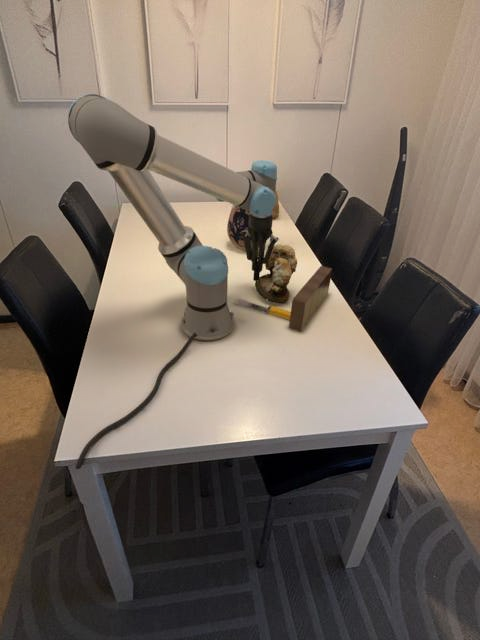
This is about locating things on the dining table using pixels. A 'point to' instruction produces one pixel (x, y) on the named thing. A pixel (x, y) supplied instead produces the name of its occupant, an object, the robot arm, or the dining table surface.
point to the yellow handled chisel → (266, 309)
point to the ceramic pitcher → (238, 226)
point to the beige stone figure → (277, 275)
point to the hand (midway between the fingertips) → (256, 279)
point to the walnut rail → (310, 298)
